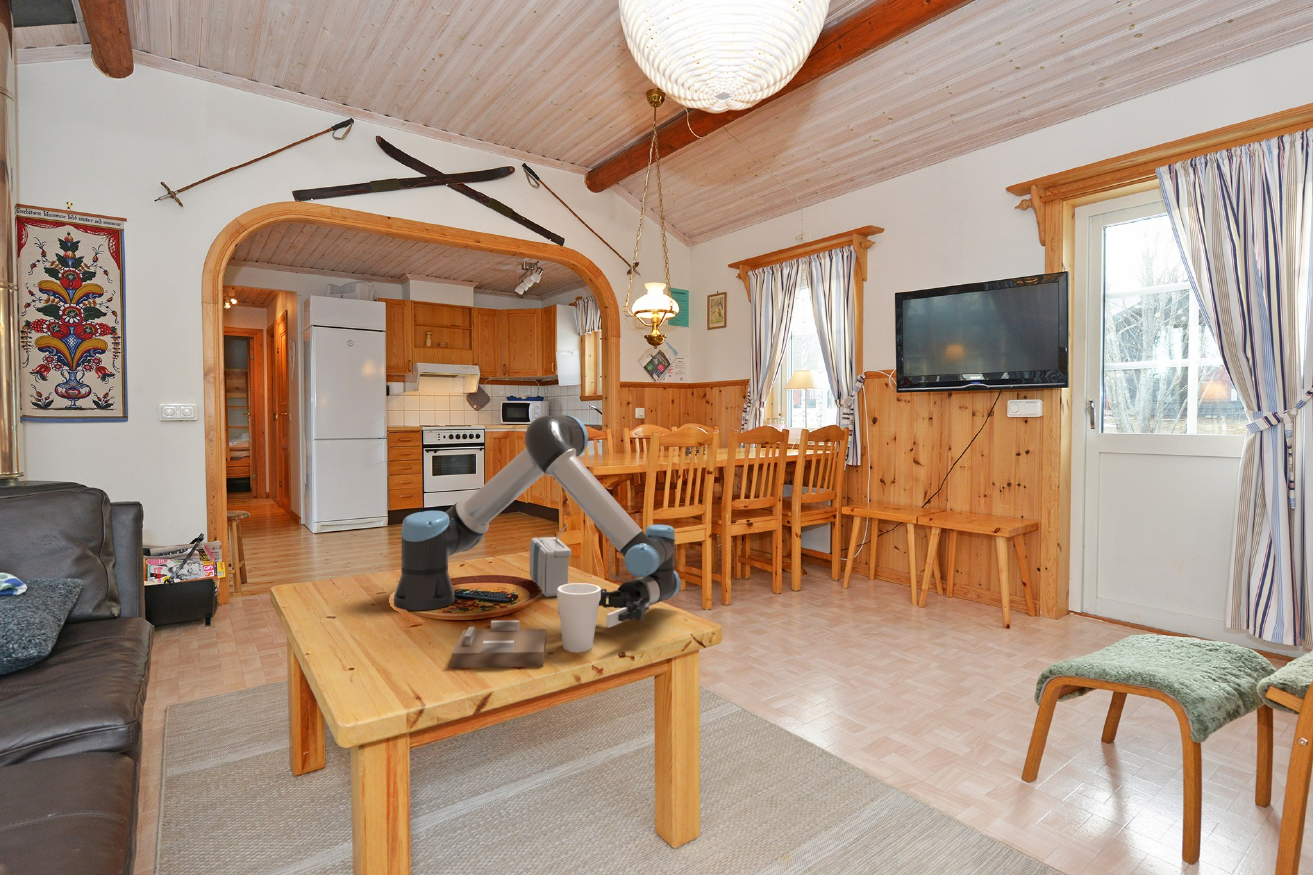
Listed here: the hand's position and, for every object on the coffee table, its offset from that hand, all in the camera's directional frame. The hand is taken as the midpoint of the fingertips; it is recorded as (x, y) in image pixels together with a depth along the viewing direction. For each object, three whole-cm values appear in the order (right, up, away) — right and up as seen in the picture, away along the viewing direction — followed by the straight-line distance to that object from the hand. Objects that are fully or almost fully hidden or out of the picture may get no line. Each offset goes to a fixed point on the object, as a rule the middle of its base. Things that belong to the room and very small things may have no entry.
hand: (582, 614), depth 150 cm
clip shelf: (-17, -7, -6) cm, 19 cm away
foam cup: (-1, -7, 0) cm, 7 cm away
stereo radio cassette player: (-15, -5, +47) cm, 50 cm away
